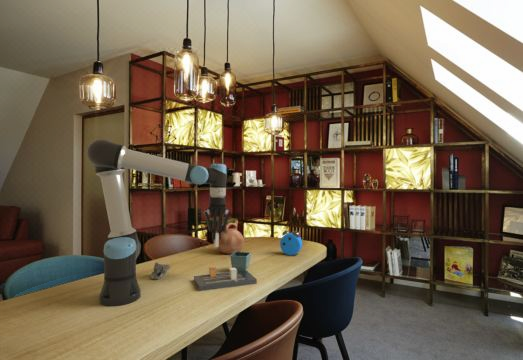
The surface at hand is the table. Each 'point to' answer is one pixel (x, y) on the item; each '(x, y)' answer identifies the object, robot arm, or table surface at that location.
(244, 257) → the flower pot
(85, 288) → the table surface
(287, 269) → the table surface
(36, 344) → the table surface
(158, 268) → the mineral specimen
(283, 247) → the alarm clock
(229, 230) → the jug
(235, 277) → the fader ivory
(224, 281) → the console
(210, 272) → the fader orange
